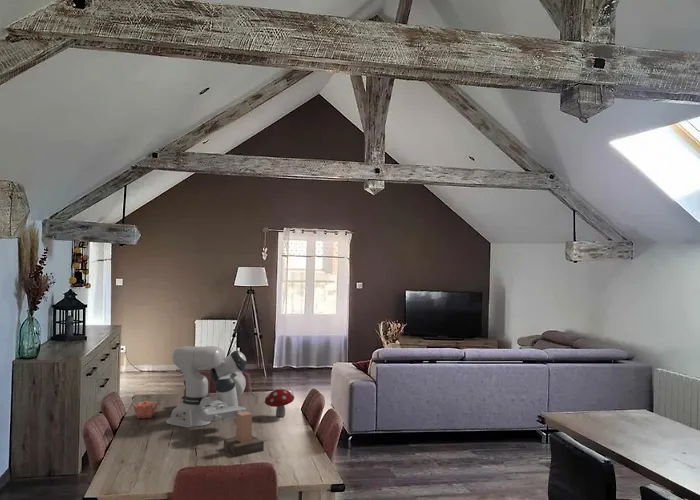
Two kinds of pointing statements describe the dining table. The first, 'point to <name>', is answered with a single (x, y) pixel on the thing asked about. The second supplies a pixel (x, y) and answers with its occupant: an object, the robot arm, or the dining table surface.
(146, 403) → the teapot
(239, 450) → the walnut plinth
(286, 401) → the decorative mushroom
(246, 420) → the terracotta block
